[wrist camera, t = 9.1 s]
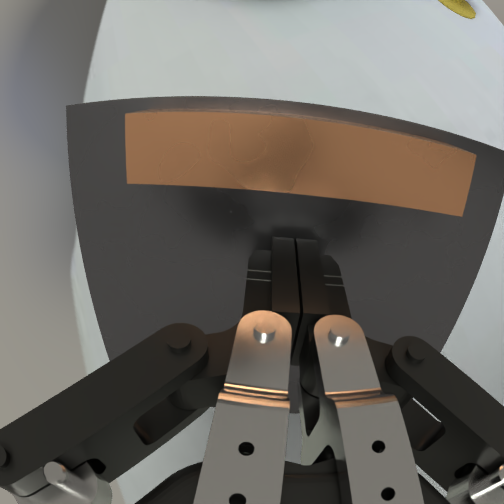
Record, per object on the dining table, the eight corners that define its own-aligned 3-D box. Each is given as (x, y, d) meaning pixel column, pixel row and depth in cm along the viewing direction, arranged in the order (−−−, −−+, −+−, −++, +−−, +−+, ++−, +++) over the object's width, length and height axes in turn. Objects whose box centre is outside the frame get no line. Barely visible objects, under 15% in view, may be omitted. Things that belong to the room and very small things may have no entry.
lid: (495, 147, 10) (541, 166, 7) (400, 394, 17) (412, 433, 14) (83, 103, 10) (35, 111, 7) (126, 375, 17) (110, 414, 14)
